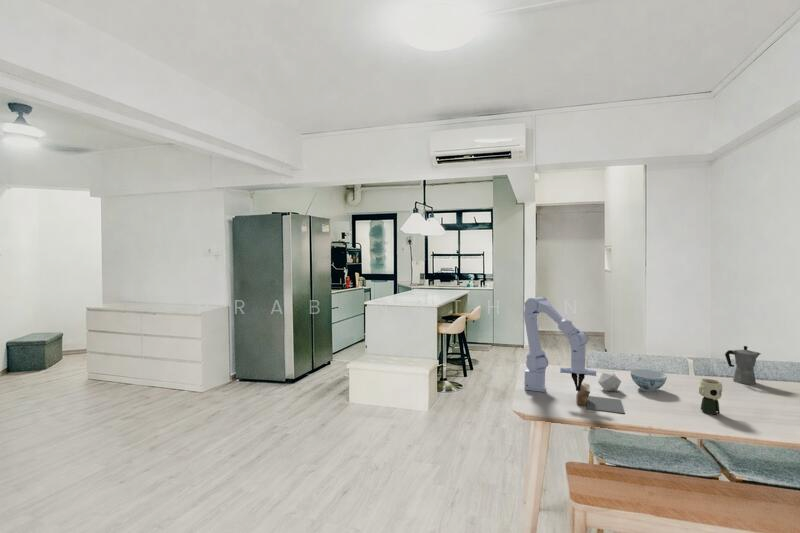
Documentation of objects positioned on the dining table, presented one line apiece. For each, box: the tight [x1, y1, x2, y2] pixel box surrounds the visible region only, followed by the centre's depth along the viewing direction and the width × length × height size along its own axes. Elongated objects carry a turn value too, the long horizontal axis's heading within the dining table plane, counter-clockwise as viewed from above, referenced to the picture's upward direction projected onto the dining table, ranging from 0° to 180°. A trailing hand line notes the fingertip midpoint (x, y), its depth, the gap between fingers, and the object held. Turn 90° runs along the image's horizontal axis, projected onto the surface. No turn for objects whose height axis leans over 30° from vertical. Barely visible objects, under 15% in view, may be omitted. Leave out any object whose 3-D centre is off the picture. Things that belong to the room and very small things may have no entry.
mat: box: [586, 395, 625, 415], centre depth 184 cm, size 14×16×1 cm
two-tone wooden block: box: [575, 381, 591, 407], centre depth 187 cm, size 4×9×7 cm, turn 159°
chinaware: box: [629, 368, 668, 393], centre depth 202 cm, size 15×15×8 cm
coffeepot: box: [724, 345, 761, 386], centre depth 212 cm, size 15×9×18 cm, turn 79°
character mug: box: [698, 378, 723, 415], centre depth 174 cm, size 11×7×13 cm, turn 101°
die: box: [597, 372, 622, 392], centre depth 202 cm, size 8×9×10 cm
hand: (577, 390), depth 187 cm, fingers closed
